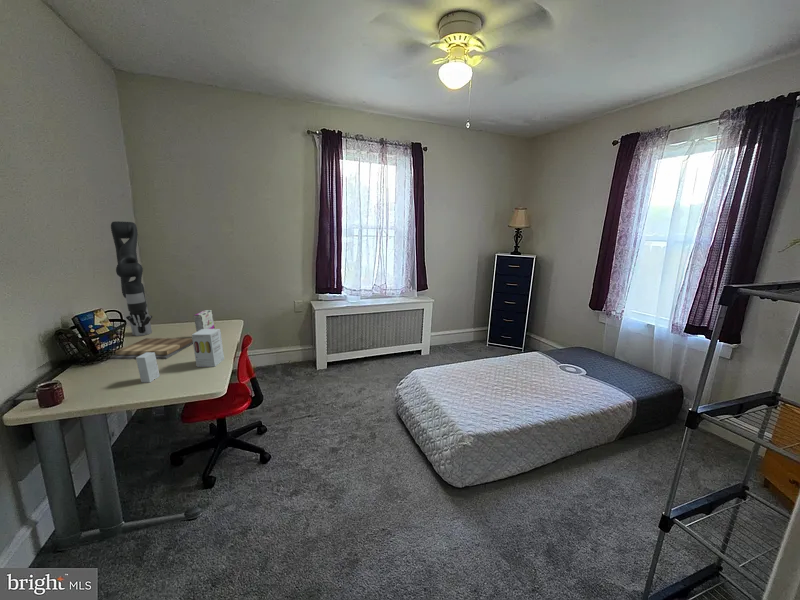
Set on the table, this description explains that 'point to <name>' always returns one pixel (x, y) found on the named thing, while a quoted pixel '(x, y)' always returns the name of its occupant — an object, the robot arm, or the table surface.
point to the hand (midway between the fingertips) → (142, 332)
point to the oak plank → (147, 349)
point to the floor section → (159, 341)
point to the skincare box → (147, 367)
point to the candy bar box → (204, 320)
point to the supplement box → (208, 347)
